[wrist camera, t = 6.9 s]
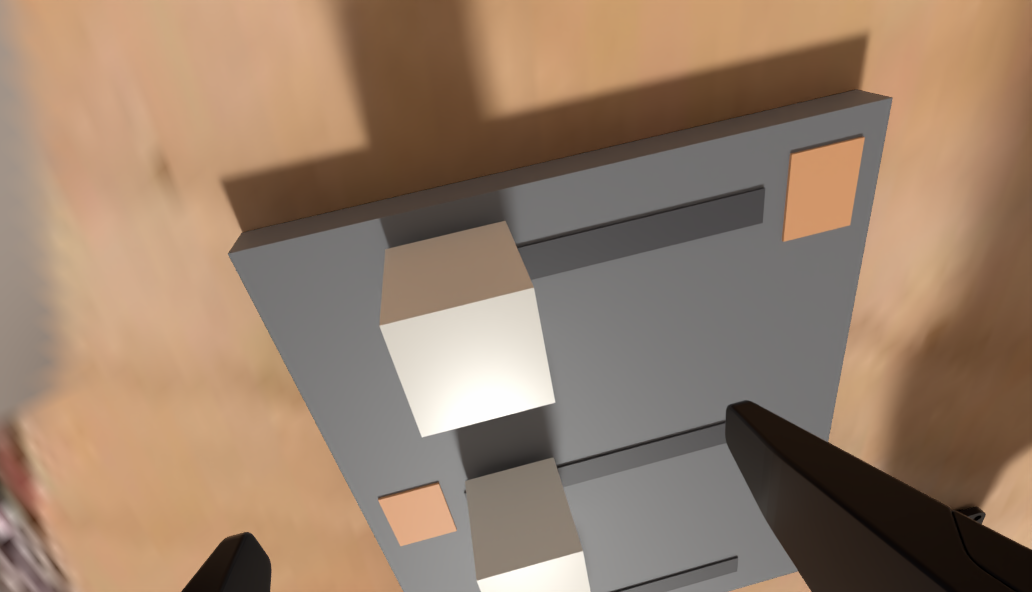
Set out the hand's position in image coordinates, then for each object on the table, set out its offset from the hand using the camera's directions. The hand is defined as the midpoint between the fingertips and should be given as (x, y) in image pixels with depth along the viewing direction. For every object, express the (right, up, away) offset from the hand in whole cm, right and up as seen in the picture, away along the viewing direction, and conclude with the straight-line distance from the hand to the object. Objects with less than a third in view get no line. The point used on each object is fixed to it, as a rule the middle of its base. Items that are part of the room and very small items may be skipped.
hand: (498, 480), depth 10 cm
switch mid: (0, -5, +11) cm, 12 cm away
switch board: (+4, -3, +13) cm, 14 cm away
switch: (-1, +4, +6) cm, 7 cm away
